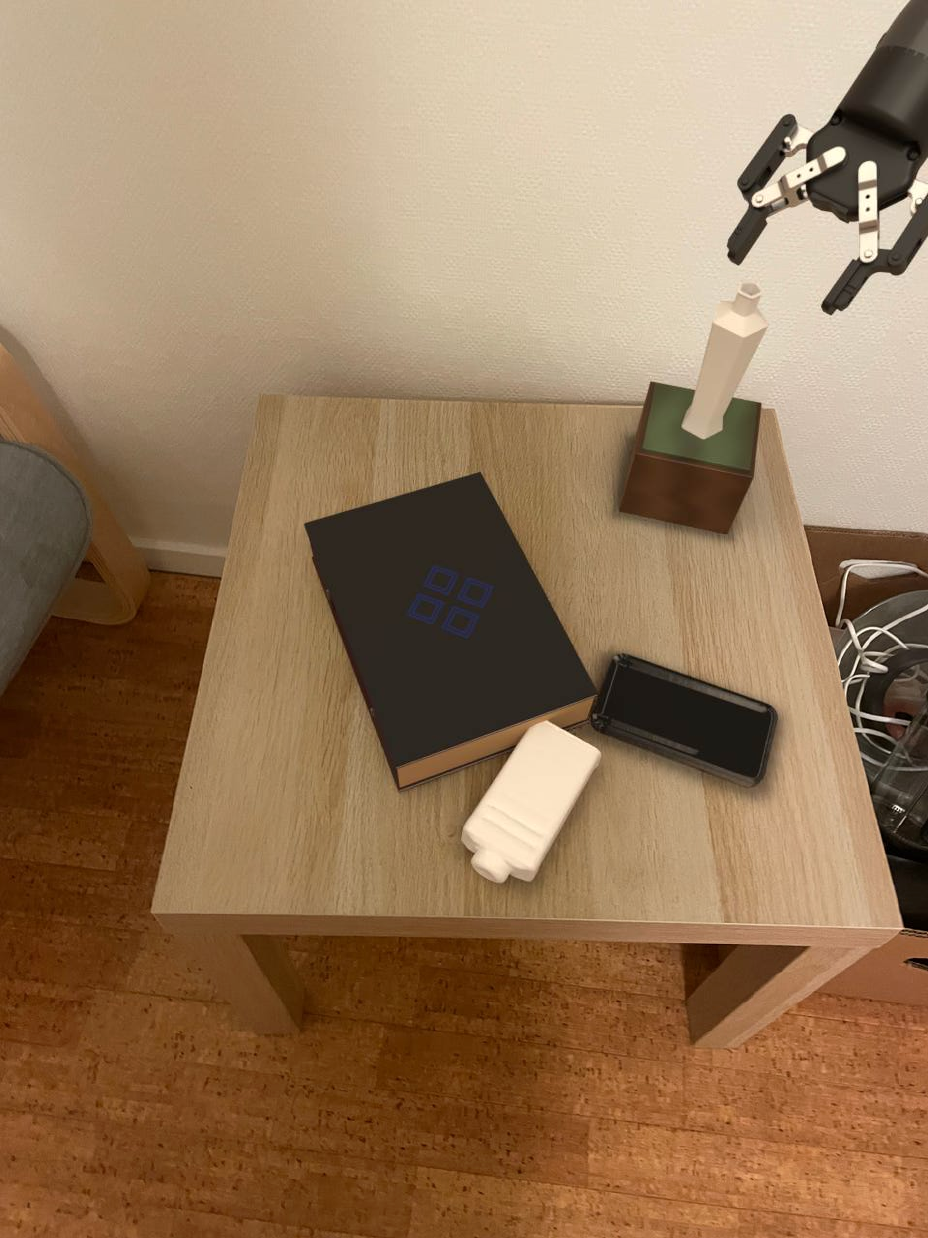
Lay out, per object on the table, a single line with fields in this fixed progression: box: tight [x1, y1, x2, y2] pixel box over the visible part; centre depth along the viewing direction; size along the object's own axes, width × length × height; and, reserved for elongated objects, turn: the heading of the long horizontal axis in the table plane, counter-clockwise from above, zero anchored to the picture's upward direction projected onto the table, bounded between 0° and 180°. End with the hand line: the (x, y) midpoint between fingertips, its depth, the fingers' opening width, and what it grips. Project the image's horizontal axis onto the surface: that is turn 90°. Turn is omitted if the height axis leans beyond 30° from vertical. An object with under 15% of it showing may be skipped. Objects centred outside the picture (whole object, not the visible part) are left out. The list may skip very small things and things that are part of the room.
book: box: [303, 471, 599, 794], centre depth 75 cm, size 17×25×7 cm
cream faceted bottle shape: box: [682, 280, 769, 439], centre depth 74 cm, size 5×4×15 cm
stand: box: [619, 380, 763, 535], centre depth 84 cm, size 11×10×9 cm
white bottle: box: [460, 720, 602, 884], centre depth 67 cm, size 6×13×4 cm, turn 148°
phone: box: [590, 652, 779, 788], centre depth 73 cm, size 8×1×15 cm
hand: (777, 285), depth 66 cm, fingers open, 8 cm apart
